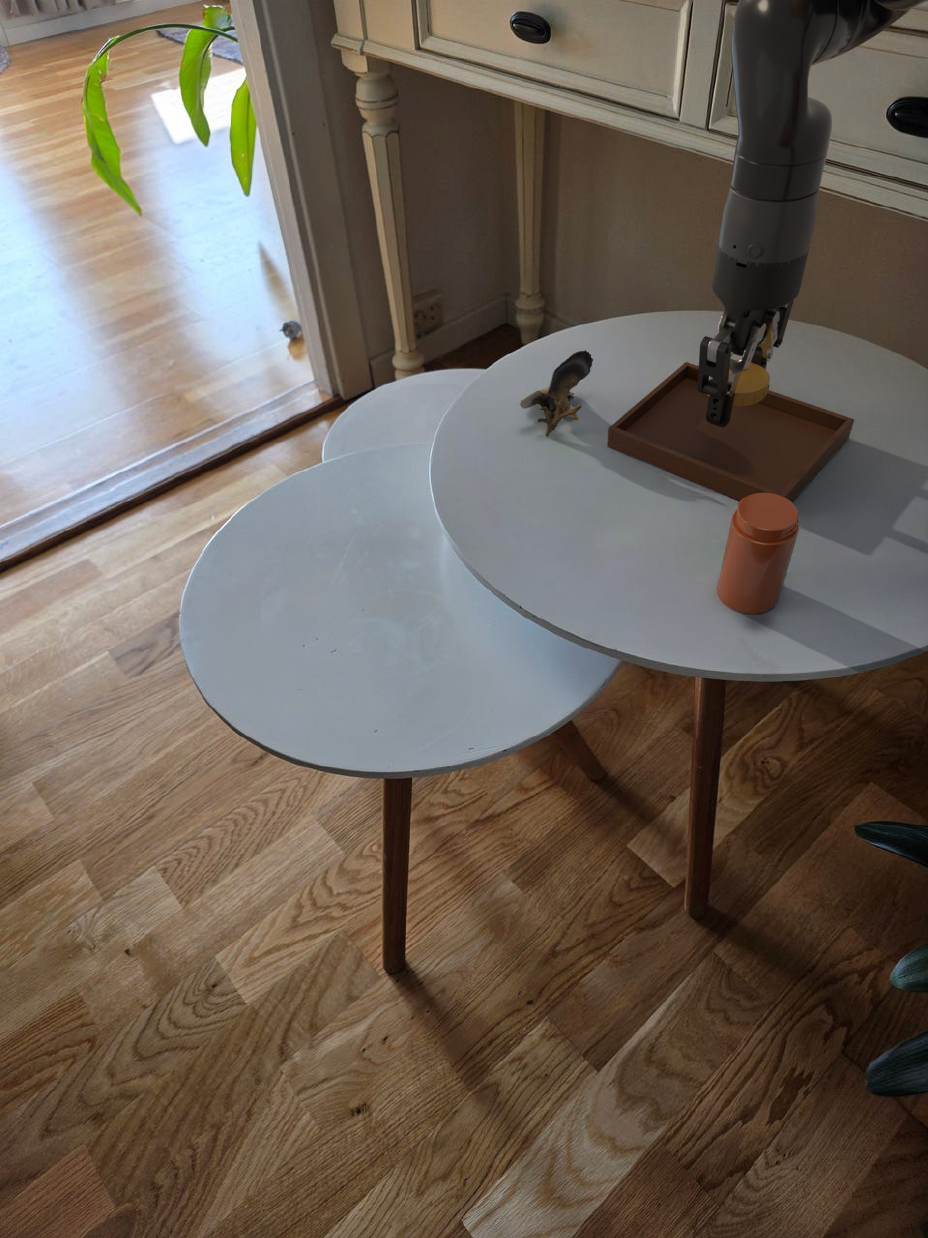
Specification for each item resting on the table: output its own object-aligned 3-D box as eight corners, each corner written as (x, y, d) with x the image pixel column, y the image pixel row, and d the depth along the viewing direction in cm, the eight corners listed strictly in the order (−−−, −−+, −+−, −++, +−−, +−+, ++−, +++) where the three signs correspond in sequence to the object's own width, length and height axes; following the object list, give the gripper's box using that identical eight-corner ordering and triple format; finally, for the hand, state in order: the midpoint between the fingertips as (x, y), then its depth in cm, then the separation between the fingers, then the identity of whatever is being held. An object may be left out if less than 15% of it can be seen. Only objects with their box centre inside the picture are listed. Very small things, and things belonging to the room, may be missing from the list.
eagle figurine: (601, 431, 90) (608, 371, 95) (564, 386, 86) (573, 325, 90) (541, 455, 95) (551, 397, 99) (502, 414, 91) (514, 354, 95)
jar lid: (691, 387, 86) (693, 374, 85) (734, 366, 88) (737, 352, 87) (736, 414, 82) (739, 400, 81) (780, 391, 84) (783, 377, 83)
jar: (790, 588, 75) (814, 506, 68) (761, 623, 73) (783, 542, 66) (735, 563, 78) (753, 481, 71) (705, 596, 75) (721, 515, 68)
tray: (848, 437, 89) (854, 418, 87) (778, 517, 81) (783, 498, 80) (683, 379, 98) (685, 361, 96) (606, 446, 90) (608, 427, 89)
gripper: (764, 200, 79) (734, 364, 92) (681, 261, 72) (661, 430, 85) (843, 218, 76) (801, 386, 88) (764, 284, 69) (731, 457, 81)
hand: (733, 407), depth 86 cm, fingers closed on jar lid, 5 cm apart
